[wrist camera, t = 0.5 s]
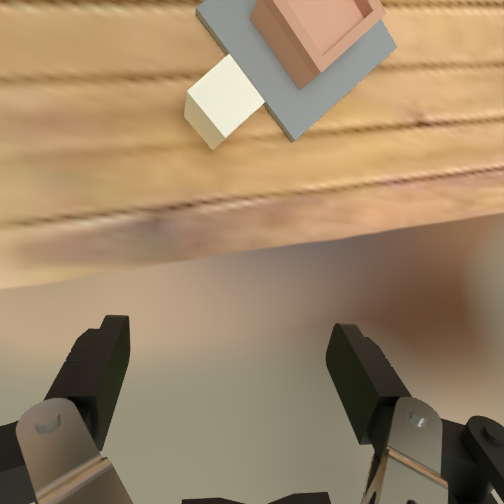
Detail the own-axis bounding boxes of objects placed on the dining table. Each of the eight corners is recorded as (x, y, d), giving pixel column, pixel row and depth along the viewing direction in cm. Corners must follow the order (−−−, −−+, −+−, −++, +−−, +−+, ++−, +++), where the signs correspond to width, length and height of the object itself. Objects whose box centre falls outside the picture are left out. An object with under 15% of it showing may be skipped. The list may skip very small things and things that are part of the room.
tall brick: (183, 116, 34) (186, 91, 25) (215, 88, 35) (229, 53, 26) (212, 150, 36) (225, 138, 27) (242, 123, 36) (265, 101, 27)
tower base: (195, 14, 33) (200, -28, 26) (310, -87, 33) (342, -152, 27) (291, 142, 38) (315, 132, 31) (390, 51, 38) (433, 23, 32)
